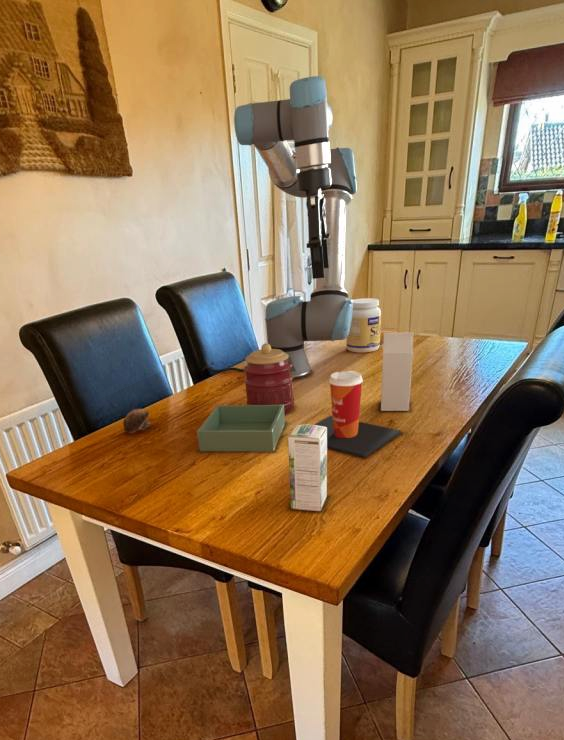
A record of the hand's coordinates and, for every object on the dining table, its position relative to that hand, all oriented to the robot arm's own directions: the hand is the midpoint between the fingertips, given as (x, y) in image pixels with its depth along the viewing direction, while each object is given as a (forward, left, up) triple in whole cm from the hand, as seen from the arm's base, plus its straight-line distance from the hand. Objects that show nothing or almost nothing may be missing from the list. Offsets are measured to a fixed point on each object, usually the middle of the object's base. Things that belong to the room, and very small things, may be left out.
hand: (321, 273), depth 125 cm
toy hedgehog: (-30, -40, -33) cm, 60 cm away
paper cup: (+18, -15, -33) cm, 40 cm away
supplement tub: (-22, +56, -33) cm, 69 cm away
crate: (-3, -28, -33) cm, 44 cm away
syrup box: (+30, -45, -33) cm, 64 cm away
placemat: (+18, -15, -33) cm, 41 cm away
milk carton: (+18, +8, -33) cm, 38 cm away
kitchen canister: (-10, -10, -33) cm, 36 cm away
